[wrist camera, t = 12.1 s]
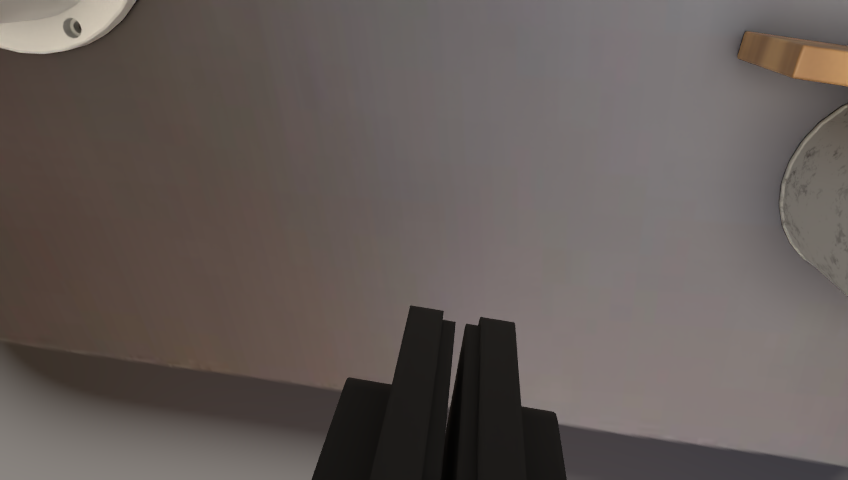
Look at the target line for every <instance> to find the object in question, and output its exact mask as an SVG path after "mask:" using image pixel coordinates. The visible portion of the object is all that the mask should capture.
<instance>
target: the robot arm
mask: <svg viewBox="0 0 848 480" xmlns="http://www.w3.org/2000/svg"><path fill="white" fill-rule="evenodd" d="M135 2H136V0H0V48H3V49H7V50H11V51H15V52H19V53H33V54H48V53H55V52H62V51H67V50H71V49H74V48H78V47H82V46H85V45H88V44H90V43H92V42H93V41H95V40H97V39H99V38H101V37H103V36H104V35H106V34H107V33H109V32H110V31H111V30H112V29H113V28H114V27H115V26H116V25H117V24H119V23H120V22H121V21H122V20H123V19H124V18H125V16H126V15H127V13H128V12H129V10H130V9H131V8H132V6H133V5H134V3H135ZM79 24H80V26H81V29H82V30H80V28H79ZM443 312H444V311H441V310H435V309H429V308H423V307H416V306H410V309H409V314H408V318H407V322H406V326H405V331H404V335H403V339H402V344H401V348H400V352H399V357H398V361H397V365H396V369H395V374H394V378H393V382H392V385H391V384H385V383H379V382H373V381H367V380H361V379H355V378H347V380H346V382H345V385H344V388H343V390H342V393H341V396H340V399H339V402H338V405H337V408H336V411H335V414H334V416H333V420H332V422H331V425H330V428H329V431H328V434H327V437H326V440H325V443H324V445H323V448H322V451H321V454H320V457H319V460H318V463H317V466H316V469H315V471H314V474H313V477H312V480H566V472H565V467H564V460H563V453H562V446H561V440H560V433H559V428H558V420H557V417H556V414H555V413H554V412H551V411H545V410H540V409H534V408H528V407H522V406H521V398H520V384H519V371H518V358H517V344H516V331H515V323H514V322H508V321H502V320H496V319H490V318H483V317H480V320H479V324H478V326H477V325H471V324H466V326H465V330H464V335H463V341H462V346H461V352H460V357H459V363H458V368H457V374H456V379H455V384H454V390H453V395H452V401H451V406H450V412H449V417H448V423H447V428H446V419H447V409H448V398H449V387H450V376H451V366H452V355H453V344H454V334H455V322H453V321H447V320H443ZM445 430H446V433H445Z"/></svg>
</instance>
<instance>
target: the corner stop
mask: <svg viewBox="0 0 848 480" xmlns="http://www.w3.org/2000/svg"><path fill="white" fill-rule="evenodd" d="M737 57H738V59H741V60H743V61H746V62H749V63H752V64H755V65H757V66H760V67H763V68H766V69H769V70H771V71H774V72H777V73H780V74H783V75H785V76H788V77H791V78H795V79H801V80H808V81H814V82H821V83H828V84H834V85H841V86H848V46H844V45H837V44H831V43H824V42H817V41H810V40H804V39H797V38H790V37H784V36H777V35H770V34H763V33H757V32H750V31H746V32H745V34H744V37H743V40H742V43H741V46H740V50H739V53H738V56H737Z"/></svg>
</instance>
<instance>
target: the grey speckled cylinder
mask: <svg viewBox="0 0 848 480" xmlns="http://www.w3.org/2000/svg"><path fill="white" fill-rule="evenodd" d="M779 209H780V216H781V223H782V226H783V229H784V231H785V233H786V236H787V238H788V240H789V242H790V244H791V245H792V246H793V247H794V249H795V250H796V251H797V252H798V254H799V255H800V256H801V257H802V258H803V259H804V260H806V261H807V262H808V263H810V264H811V265H813V266H814V267H815V268H817V269H818V270H819V271H820V272H821V273H822V274H823V275H824V276H825V277H827V278H828V279H829V280H830V281H831V282H832V283H833V284H834V285H835V286H836V287H837V288H838V289H840V290H841V291H842V292H843V293H844V294H845V295H846V296H847V297H848V104H846V105H844V106H842V107H840V108H839V109H837V110H836V111H835V112H833V113H832V114H830V115H829V116H828V117H826V118H825V119H824V120H822V121H821V122H820V123H819V124H818V125H817V126H816V127H815V128H814V129H813V130H812V131H811V132H810V133H809V134H808V135H807V136H806V138H805V139H804V140H803V141H802V142H801V144H800V145H799V147H798V148H797V150H796V152H795V153H794V155H793V156H792V158H791V160H790V161H789V164H788V166H787V169H786V172H785V175H784V177H783V180H782V183H781V191H780V200H779Z"/></svg>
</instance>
